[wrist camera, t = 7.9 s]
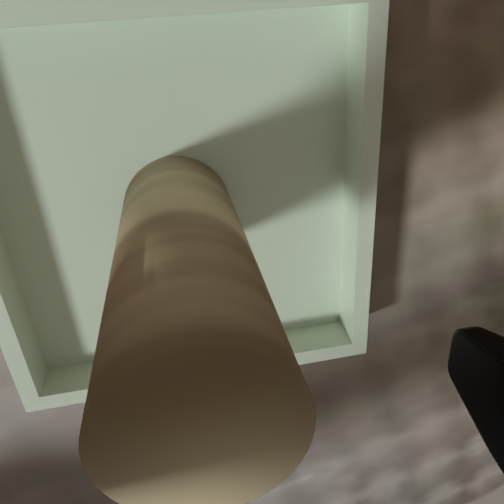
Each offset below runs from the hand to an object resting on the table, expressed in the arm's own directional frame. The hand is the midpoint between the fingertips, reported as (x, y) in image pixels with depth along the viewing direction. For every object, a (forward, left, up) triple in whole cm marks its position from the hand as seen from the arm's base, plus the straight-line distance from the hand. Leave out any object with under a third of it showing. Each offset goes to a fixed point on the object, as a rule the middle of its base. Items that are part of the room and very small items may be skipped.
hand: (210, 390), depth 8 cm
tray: (0, 0, -10) cm, 10 cm away
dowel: (0, 0, -9) cm, 9 cm away
